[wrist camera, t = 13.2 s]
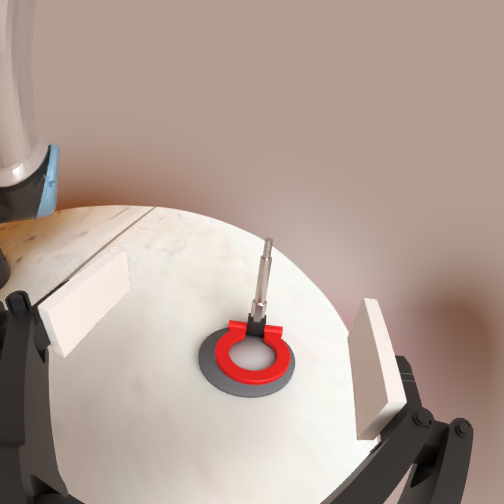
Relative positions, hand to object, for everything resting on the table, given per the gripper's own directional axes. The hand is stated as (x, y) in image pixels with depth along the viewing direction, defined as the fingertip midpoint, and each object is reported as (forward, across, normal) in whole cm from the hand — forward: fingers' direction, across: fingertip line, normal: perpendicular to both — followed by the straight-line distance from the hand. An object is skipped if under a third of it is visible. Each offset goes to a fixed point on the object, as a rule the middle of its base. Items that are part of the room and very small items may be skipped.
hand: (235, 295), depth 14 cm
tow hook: (+11, +1, -15) cm, 19 cm away
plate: (+11, 0, -16) cm, 19 cm away
